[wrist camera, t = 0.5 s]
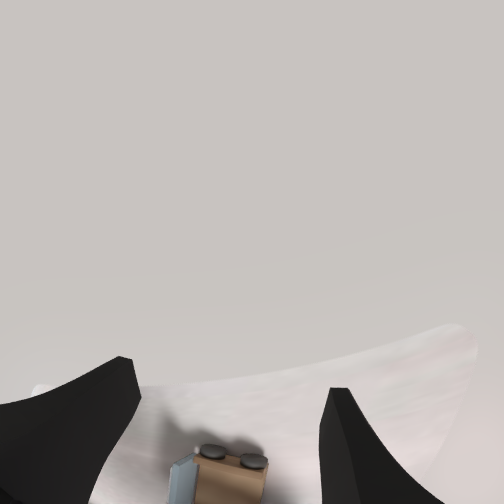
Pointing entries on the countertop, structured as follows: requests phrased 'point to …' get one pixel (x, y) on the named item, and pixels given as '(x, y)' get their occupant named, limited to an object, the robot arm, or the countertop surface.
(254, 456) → the cart bed
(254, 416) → the countertop surface
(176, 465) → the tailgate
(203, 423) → the countertop surface
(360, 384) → the countertop surface
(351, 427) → the robot arm
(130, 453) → the countertop surface
